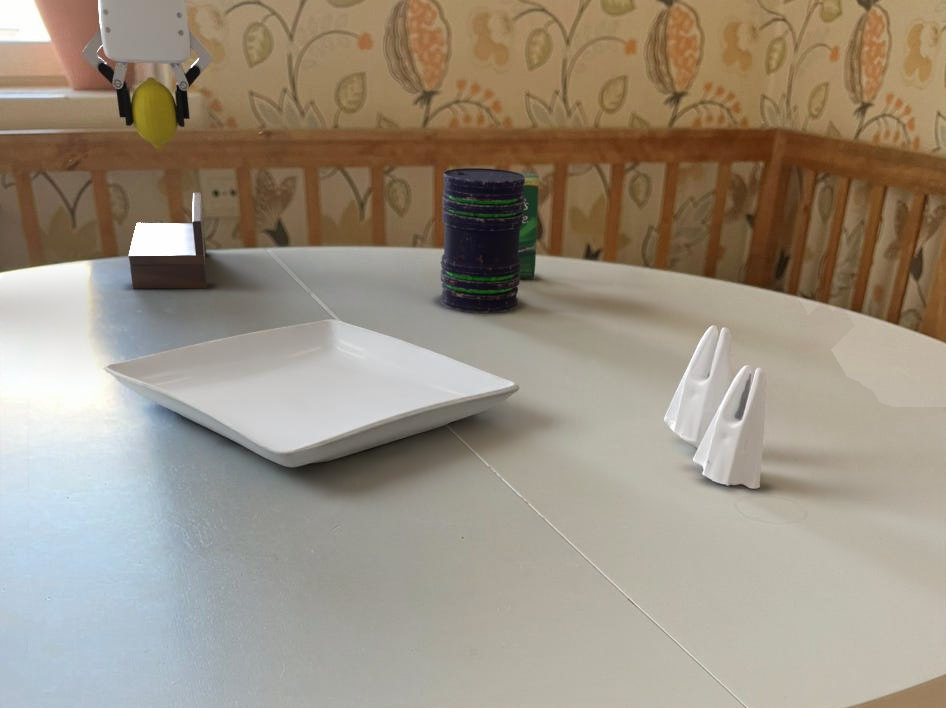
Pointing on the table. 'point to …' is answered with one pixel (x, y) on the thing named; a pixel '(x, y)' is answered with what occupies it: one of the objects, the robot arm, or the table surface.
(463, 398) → the square plate
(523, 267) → the coffee box
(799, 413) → the table surface
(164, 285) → the block with corner post
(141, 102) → the lemon
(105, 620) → the table surface
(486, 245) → the navy striped canister
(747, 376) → the shaker set
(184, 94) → the robot arm
